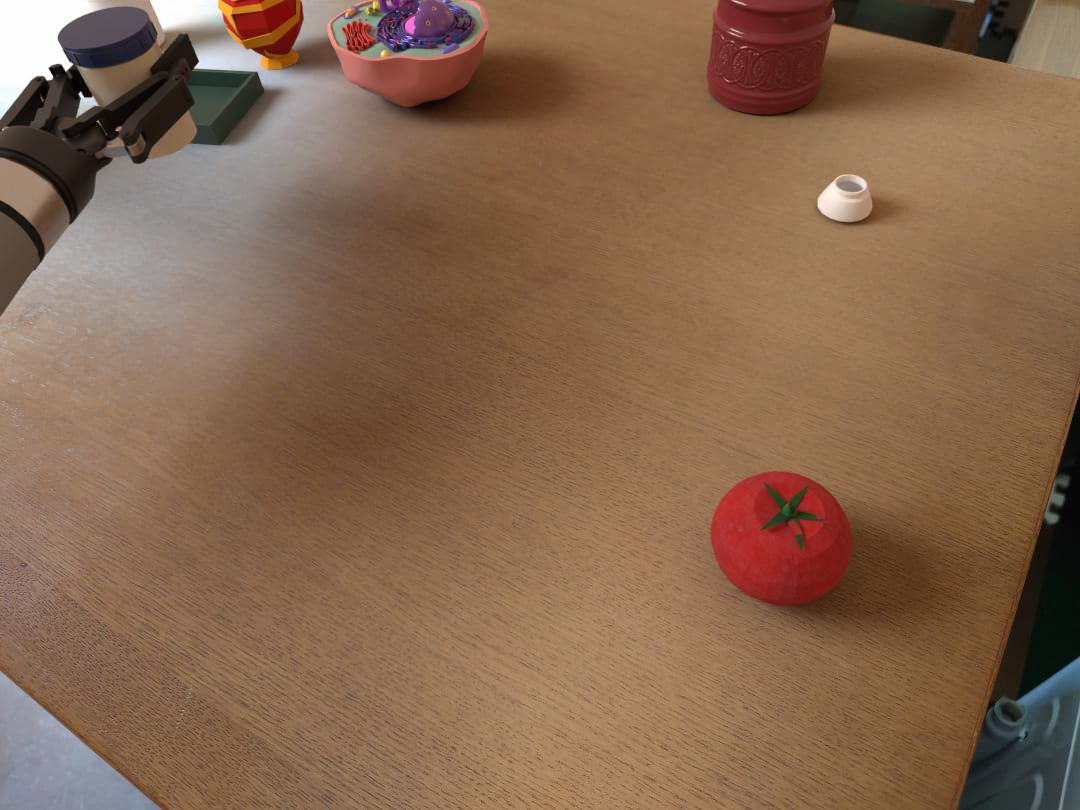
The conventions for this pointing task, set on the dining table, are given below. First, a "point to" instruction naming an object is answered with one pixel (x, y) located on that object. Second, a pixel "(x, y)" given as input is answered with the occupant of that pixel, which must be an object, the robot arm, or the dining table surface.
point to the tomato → (781, 538)
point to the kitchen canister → (768, 53)
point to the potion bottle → (265, 28)
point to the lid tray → (221, 101)
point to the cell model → (410, 47)
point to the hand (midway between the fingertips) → (151, 48)
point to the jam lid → (107, 37)
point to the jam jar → (125, 77)
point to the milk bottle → (94, 3)
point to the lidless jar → (846, 199)
